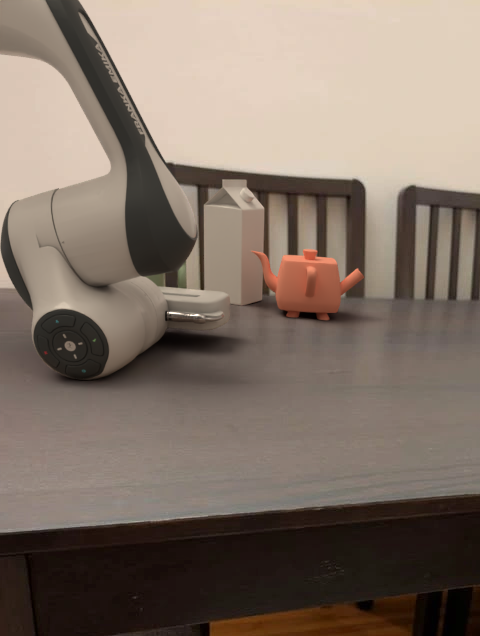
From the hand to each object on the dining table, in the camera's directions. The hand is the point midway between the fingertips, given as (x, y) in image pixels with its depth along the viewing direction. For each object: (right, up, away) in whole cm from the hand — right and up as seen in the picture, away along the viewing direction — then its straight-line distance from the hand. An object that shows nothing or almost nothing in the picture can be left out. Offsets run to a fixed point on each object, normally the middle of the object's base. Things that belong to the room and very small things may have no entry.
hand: (162, 293), depth 95 cm
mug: (-6, -1, +9) cm, 11 cm away
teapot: (+17, +2, +22) cm, 28 cm away
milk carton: (+4, +6, +28) cm, 29 cm away
